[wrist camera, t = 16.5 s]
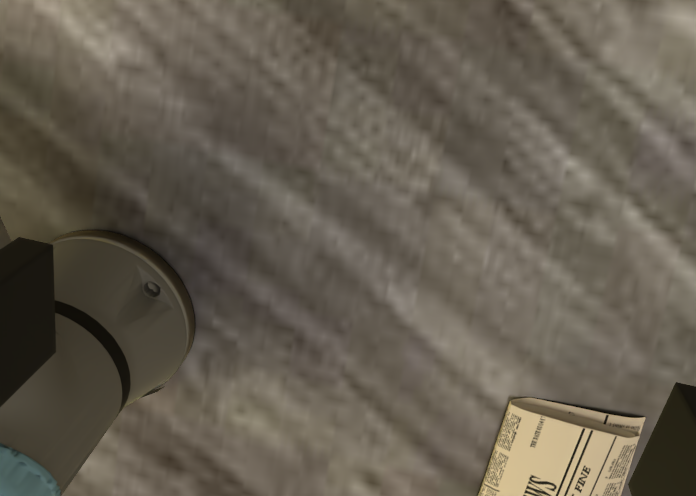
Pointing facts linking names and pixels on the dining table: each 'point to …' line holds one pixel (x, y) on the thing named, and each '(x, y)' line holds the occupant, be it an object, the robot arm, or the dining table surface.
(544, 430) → the newspaper
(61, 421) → the robot arm
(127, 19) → the dining table surface
